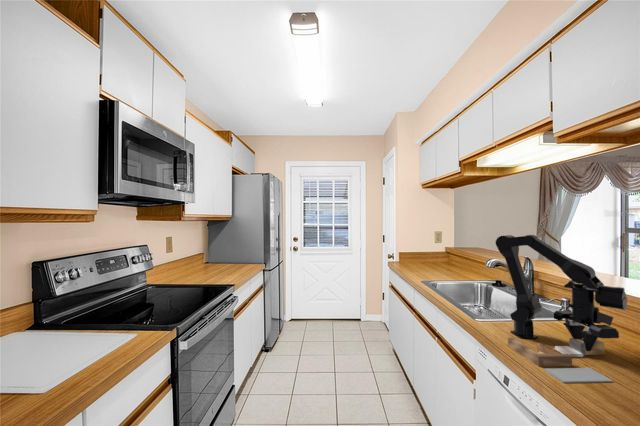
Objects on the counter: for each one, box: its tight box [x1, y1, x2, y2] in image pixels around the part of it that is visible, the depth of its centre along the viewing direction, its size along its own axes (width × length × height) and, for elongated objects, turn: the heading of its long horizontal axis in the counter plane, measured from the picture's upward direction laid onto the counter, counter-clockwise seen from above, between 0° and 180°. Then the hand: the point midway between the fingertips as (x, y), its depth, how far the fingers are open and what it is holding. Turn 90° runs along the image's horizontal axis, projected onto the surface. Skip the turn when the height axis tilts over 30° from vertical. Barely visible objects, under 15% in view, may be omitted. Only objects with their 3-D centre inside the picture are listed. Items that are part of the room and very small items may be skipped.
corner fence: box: [507, 336, 573, 367], centre depth 98 cm, size 14×10×3 cm
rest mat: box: [543, 367, 613, 384], centre depth 86 cm, size 7×14×1 cm, turn 91°
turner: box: [554, 337, 605, 358], centre depth 100 cm, size 13×6×4 cm, turn 90°
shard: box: [535, 342, 562, 354], centre depth 100 cm, size 11×8×2 cm
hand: (584, 348), depth 100 cm, fingers closed on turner, 3 cm apart
